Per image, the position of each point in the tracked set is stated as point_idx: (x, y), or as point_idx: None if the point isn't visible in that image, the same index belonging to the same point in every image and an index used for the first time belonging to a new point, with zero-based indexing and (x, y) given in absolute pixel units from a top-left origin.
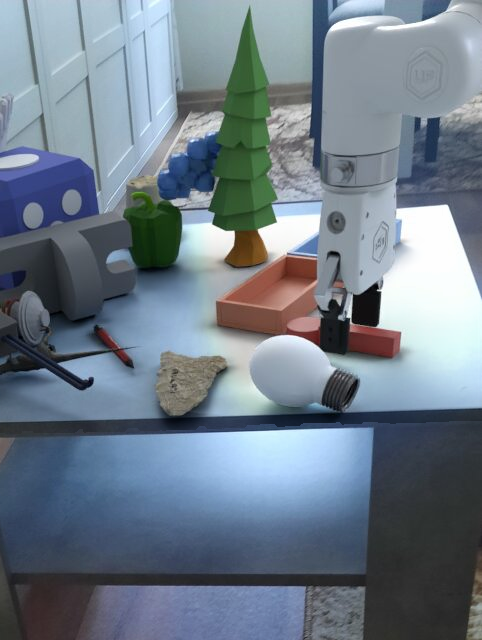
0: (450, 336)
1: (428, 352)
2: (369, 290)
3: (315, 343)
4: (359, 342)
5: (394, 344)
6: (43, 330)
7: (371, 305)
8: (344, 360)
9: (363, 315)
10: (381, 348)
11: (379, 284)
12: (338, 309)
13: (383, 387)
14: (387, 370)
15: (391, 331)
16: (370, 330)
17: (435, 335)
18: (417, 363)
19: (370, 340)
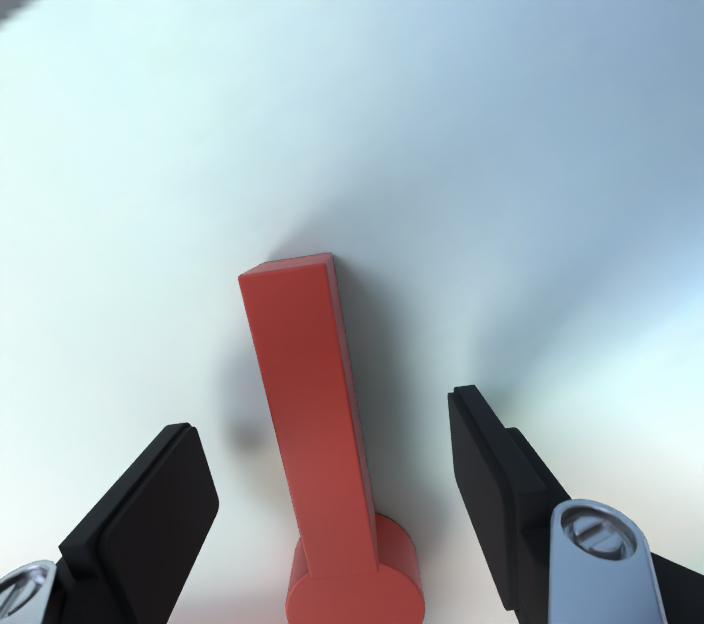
0: (19, 158)
1: (206, 155)
2: (102, 601)
3: (382, 519)
4: (353, 397)
5: (318, 259)
6: None
7: (154, 510)
8: (434, 384)
9: (190, 497)
10: (338, 306)
11: (30, 603)
12: (663, 604)
13: (585, 136)
14: (437, 209)
15: (263, 316)
16: (304, 399)
17: (54, 219)
18: (321, 137)
19: (345, 362)
